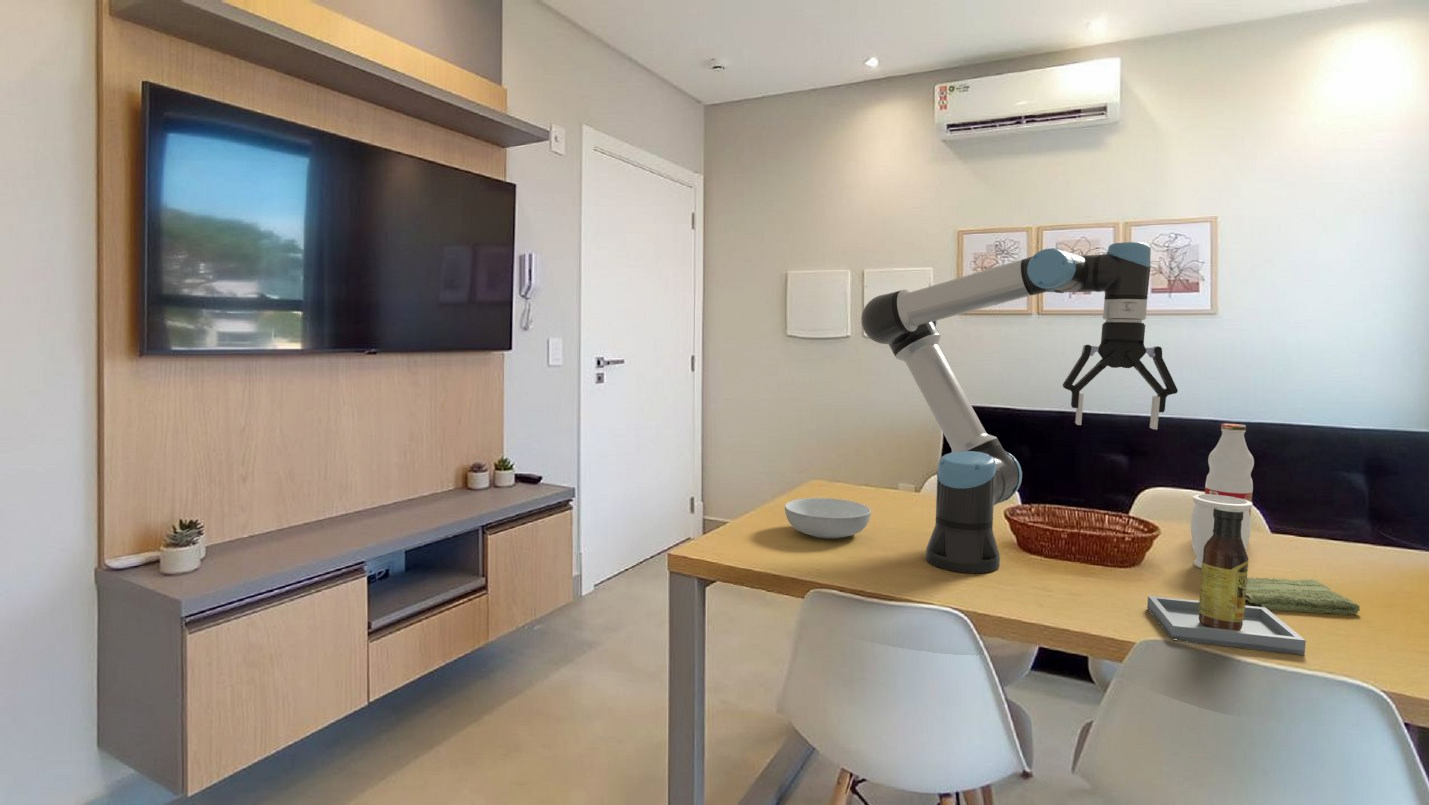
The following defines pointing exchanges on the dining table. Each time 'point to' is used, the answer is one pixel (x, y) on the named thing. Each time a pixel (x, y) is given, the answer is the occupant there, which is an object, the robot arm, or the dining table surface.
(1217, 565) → the sauce bottle
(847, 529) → the serving bowl
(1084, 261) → the robot arm
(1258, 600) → the washcloth
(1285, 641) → the tray
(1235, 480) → the fruit juice
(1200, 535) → the jar
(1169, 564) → the dining table surface
